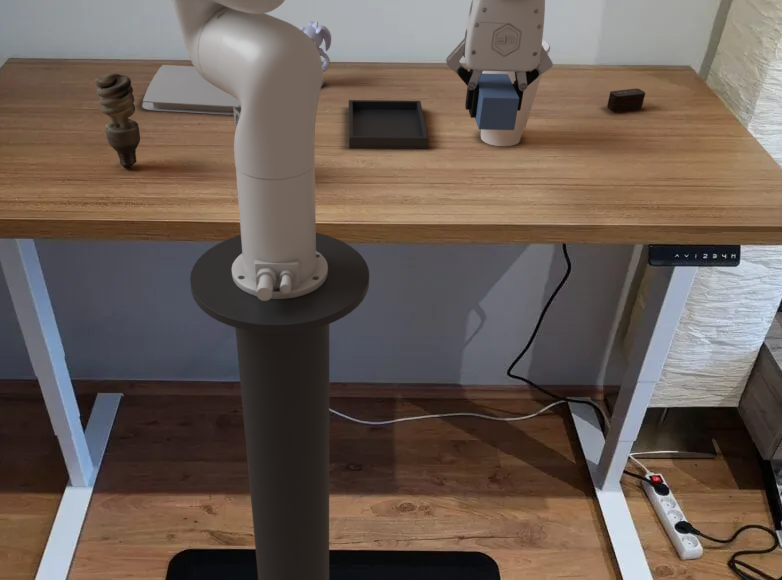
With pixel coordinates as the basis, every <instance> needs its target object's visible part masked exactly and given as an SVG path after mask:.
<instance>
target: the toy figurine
mask: <svg viewBox="0 0 782 580" xmlns="http://www.w3.org/2000/svg"><path fill="white" fill-rule="evenodd" d="M298 28H299V29H300V30H301V31H303V32H304V33H305V34H306V35H307V36H309V38H310V39H311V40H312V41H313V43H314V44H315V46H316V47H317V49H318V51H319V54H320V57H322V58H323V59H324V61H323V62H322V70H323V73H325V72H327V71H328V70H329V68H330V63H331V60H330V57H329V56H328V54H327V53H325V52H328V51H329V50H330V48H331V44H332V33H331V31H330V30H329V28H328V27H326V26H325V25H323V24H320V25H319V22H318V21H317V20H315V21H308V23H307V26H300V27H298ZM323 40H324V44H325V45H324V47H325V51H324V48H322V47H320V46H321V45H322V44H323ZM323 86H324V79H323V78H322V84H321V87H323Z"/></svg>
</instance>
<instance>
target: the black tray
mask: <svg viewBox="0 0 782 580" xmlns="http://www.w3.org/2000/svg"><path fill="white" fill-rule="evenodd" d="M423 112H424V111H423V107H422V102H421V100H391V99H389V100H388V99H387V100H385V99H383V100H382V99H378V100H377V99H348V148H349V149H408V150H409V149H411V150H412V149H415V150H416V149H418V150H419V149H420V150H421V149H422V150H426V149H428V144H429V143H428V142H429V136H428V131H427V127H426V121H425V117H424V113H423Z"/></svg>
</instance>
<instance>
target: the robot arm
mask: <svg viewBox="0 0 782 580" xmlns="http://www.w3.org/2000/svg"><path fill="white" fill-rule="evenodd" d="M171 1H172V5H173V8H174V11H175V16H176V19H177V22H178V26H179V28H180V32H181V35H182V39H183V42H184V45H185V48H186V51H187V54H188V57H189V59H190V61H191V64H192V66H194V67H195V69H196V70H197V72H198V73H199V74H200V75H201V76H202V77H203V78H204V79H205V80H206V81H207V82H209V83H210V84H212V85H214V86H215V87H217V88H219V89H221V90H223V91H224V92H226V93H228V94H230V95H232V96H233V97H235V98H236V99H238V100H239V101H240V103H241V114H240V118H239V121H238V124H237V128H235V131H234V137H233V156H234V166H235V174H236V175H235V177H236V189H237V190H236V191H237V201H238V202H237V203H238V214H239V228H240V229H239V230H240V235H241V242H242V254H240V255H239V256H238V257H237V258H236V259H235V261H234V263H233V265H232V278H233V280H234V282H235V284H236V285H237V286H238V287H239V288H240V289H242V290H243V291H245V292H247V293H249V294H251V295H254V296H257V297H258V299H260V300H262V301H267V300H270V299H288V298H295V297H299V296H303V295H305V294H308V293H310V292H312V291H314V290H316V289H317V288H319V287H320V286H321V285H322V284H323V283H324V282H325V280H326V278H327V276H328V265H327V261H326V260H325V258H324V257H323V256H322V255H321V254H320V253H319V252H317V251H316V233H317V221H316V220H317V219H316V216H317V215H316V161H315V159H316V158H315V156H316V155H315V149H316V147H315V143H316V141H315V140H316V139H315V138H316V136H315V135H316V119H317V112H318V105H319V100H320V94H321V89H322V86H321V84H322V79H323V76H324V75H323V74H324V72H323V70H322V65H323V61H322V56H320V54H319V51H318V49H317V47H316V46H315V44H314V43H313V41H312V40H311V39H310V38H309V36H307V35H306V34H305V33H304V32H303V31H301V30H300V29H299V28H300V27H297V26H296V25H294V24H292V23H290V22H289V21H285V20H282V19H280V18H278V17H276V16H273V15H270V14H268V13H271V12H273V11H274V10H276V9H278V8H279V7H280V6H282V5H283V4H284V3H285V1H286V0H171ZM470 3H471V4H470V8H469V12H468V17H467V22H466V27H465V32H464V38H463V39H462V40H461V41H460V42H459V44H458V45H457V46H456V47H455V48H454V49H453V50H452V51H451V52H450V54H449V55H448V56H447V57H446V59H445V62H446V65H447V66H448V68H450V69H451V70H452V71H453V72H454V73H456V75H458V77H459V78H460V80H461V81H463V83H464V84H465V85H466V87H467V88H466V95H465V104H464V105H465V106H464V107H465V111H468V114H469V116H470V119H475V117H476V112H477V105H478V97H479V89H478V82H479V79H480V77H481V74H482V72H483V71H510V72H514V73H515V81H514V84H513V86H514V88H515V90H516V93H517V95H518V97H519V103H518V110H517V111H520V109H521V104H522V98H523V91H524V90H526V89H527V86H528V85H529V84H531V83H532V82H533V81H534V80H535V79H537V78H538V76H539V75H540V74H542V75H543V74H544V73H546V72H547V71H549V70H550V69H551V68H552V67H553V65H554V64H553V60H552V59H551V58H550V55H549V53H548V54H547V53H546V51H545V49H544V48H543V46H542V40H543V36H544V27H545V15H546V14H545V13H546V0H471V2H470ZM462 58H464V63H465V65H466V66H465V65H463V64H462V63H461V62H460V60H461V59H462ZM466 67H468V68H469V69H467V68H466Z"/></svg>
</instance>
